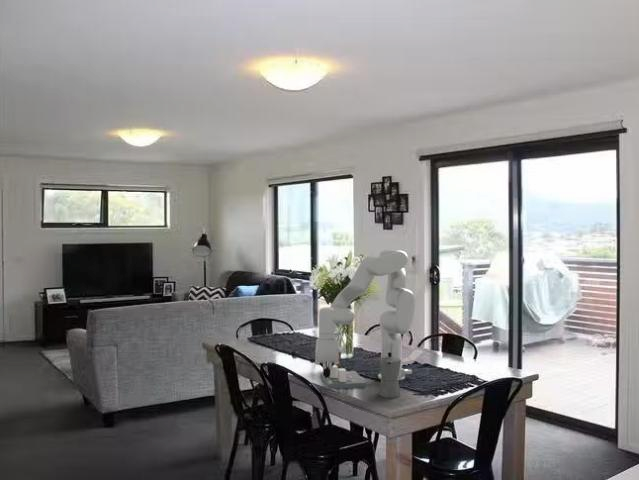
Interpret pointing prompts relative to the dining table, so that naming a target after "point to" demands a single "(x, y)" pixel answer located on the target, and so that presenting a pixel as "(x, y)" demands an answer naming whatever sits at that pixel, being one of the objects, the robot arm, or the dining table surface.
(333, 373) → the breaker
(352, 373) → the grey flat slab
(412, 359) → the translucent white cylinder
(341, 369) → the breaker
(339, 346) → the disposable coffee cup
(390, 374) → the coffeepot
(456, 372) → the dining table surface
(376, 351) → the dining table surface
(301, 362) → the dining table surface
